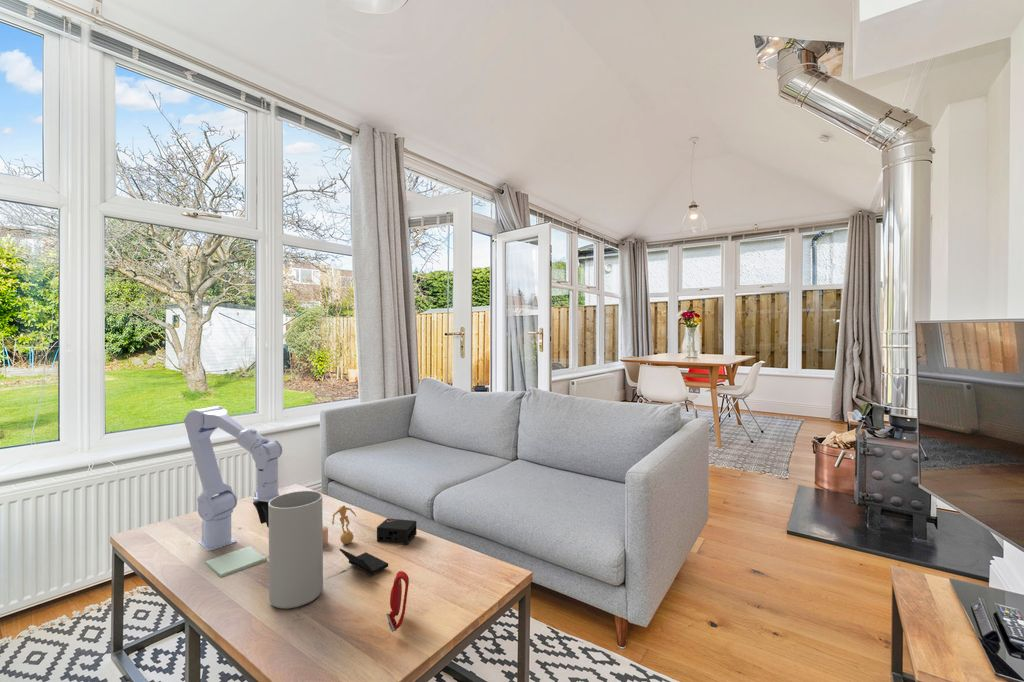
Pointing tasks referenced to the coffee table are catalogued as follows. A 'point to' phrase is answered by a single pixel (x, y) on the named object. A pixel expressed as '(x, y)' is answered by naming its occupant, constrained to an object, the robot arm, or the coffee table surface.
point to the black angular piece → (366, 562)
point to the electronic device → (396, 531)
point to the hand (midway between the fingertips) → (267, 524)
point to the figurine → (346, 535)
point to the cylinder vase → (295, 548)
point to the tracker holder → (397, 600)
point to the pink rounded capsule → (325, 536)
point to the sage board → (235, 561)
